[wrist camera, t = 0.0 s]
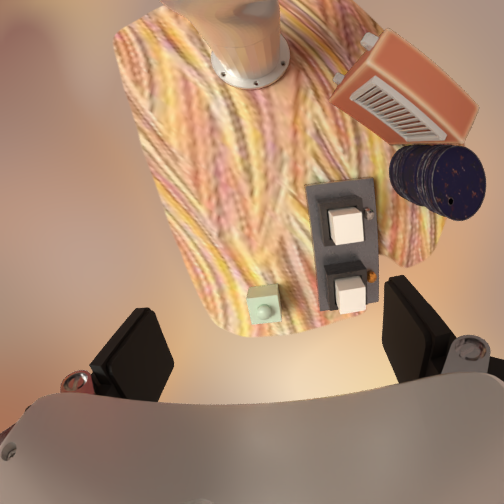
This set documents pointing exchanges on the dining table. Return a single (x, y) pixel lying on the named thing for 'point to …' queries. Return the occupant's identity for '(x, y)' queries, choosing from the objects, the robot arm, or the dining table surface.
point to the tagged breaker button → (350, 294)
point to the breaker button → (345, 225)
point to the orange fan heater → (404, 94)
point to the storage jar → (440, 179)
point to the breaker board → (345, 255)
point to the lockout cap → (264, 304)
